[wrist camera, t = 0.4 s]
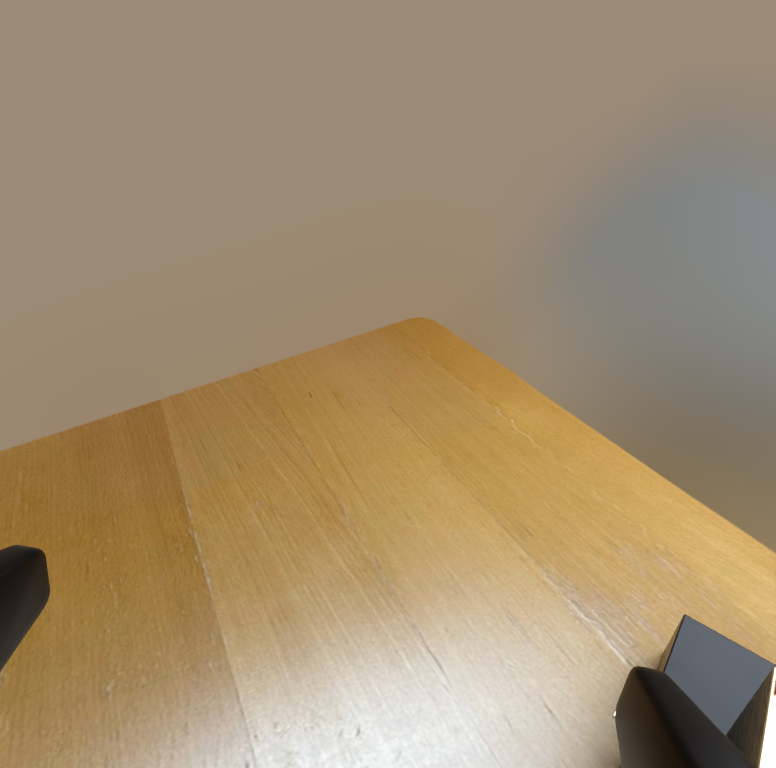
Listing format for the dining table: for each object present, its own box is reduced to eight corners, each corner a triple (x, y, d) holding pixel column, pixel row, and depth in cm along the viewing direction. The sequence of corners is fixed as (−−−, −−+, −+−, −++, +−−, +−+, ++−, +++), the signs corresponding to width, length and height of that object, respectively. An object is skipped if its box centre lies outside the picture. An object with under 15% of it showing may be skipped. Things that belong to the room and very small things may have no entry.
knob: (746, 880, 17) (814, 808, 15) (701, 845, 18) (759, 772, 16) (764, 758, 21) (821, 686, 19) (726, 733, 22) (776, 661, 20)
